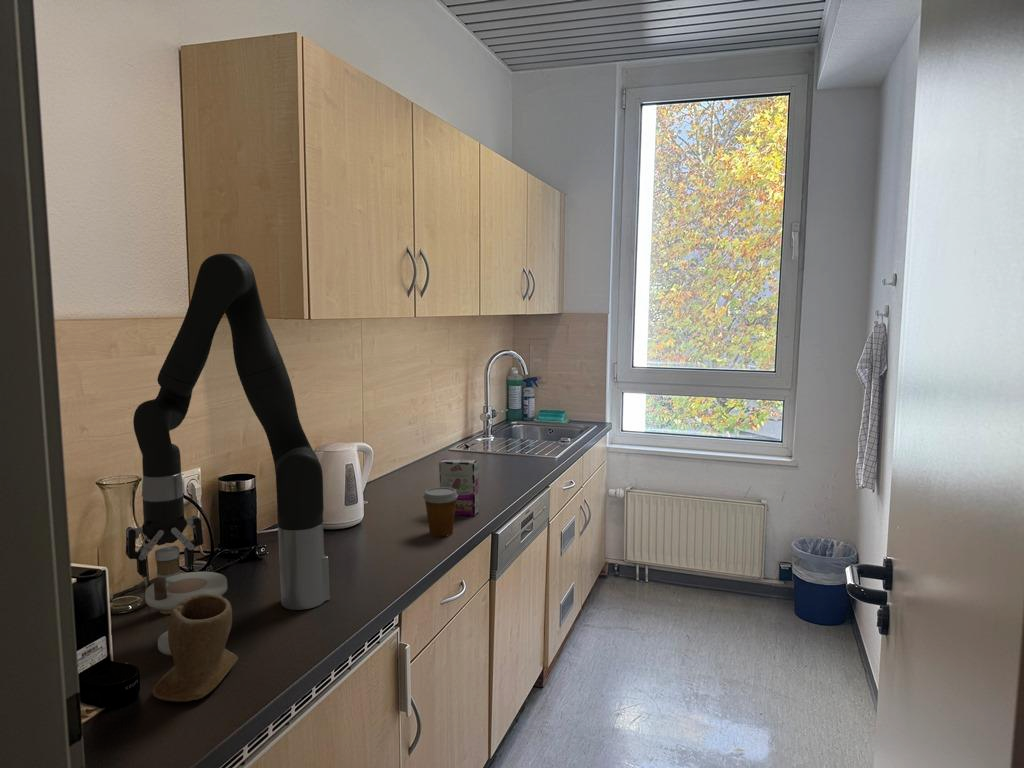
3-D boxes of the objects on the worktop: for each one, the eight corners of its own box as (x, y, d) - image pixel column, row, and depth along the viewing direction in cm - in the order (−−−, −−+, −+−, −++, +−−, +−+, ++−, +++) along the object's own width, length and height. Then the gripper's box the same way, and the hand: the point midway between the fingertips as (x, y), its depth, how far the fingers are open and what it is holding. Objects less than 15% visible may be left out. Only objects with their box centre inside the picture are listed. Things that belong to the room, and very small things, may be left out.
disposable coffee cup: (450, 540, 190) (449, 497, 189) (418, 537, 193) (417, 494, 192) (463, 529, 199) (463, 488, 198) (433, 526, 202) (432, 485, 201)
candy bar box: (479, 512, 216) (479, 459, 214) (475, 516, 211) (474, 463, 209) (445, 509, 219) (444, 457, 217) (439, 514, 214) (438, 461, 212)
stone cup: (213, 710, 112) (208, 619, 110) (142, 706, 113) (136, 616, 111) (257, 661, 127) (253, 581, 125) (194, 658, 128) (189, 579, 126)
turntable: (187, 575, 142) (186, 551, 142) (243, 584, 137) (241, 559, 137) (127, 602, 129) (125, 576, 129) (186, 614, 124) (185, 586, 124)
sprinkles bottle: (177, 603, 151) (174, 543, 150) (186, 610, 148) (182, 548, 147) (155, 610, 148) (151, 548, 146) (164, 617, 145) (159, 553, 143)
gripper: (129, 505, 137) (133, 585, 139) (205, 493, 147) (208, 568, 148) (120, 496, 143) (123, 574, 145) (193, 485, 152) (196, 558, 154)
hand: (166, 571), depth 147 cm, fingers open, 8 cm apart
